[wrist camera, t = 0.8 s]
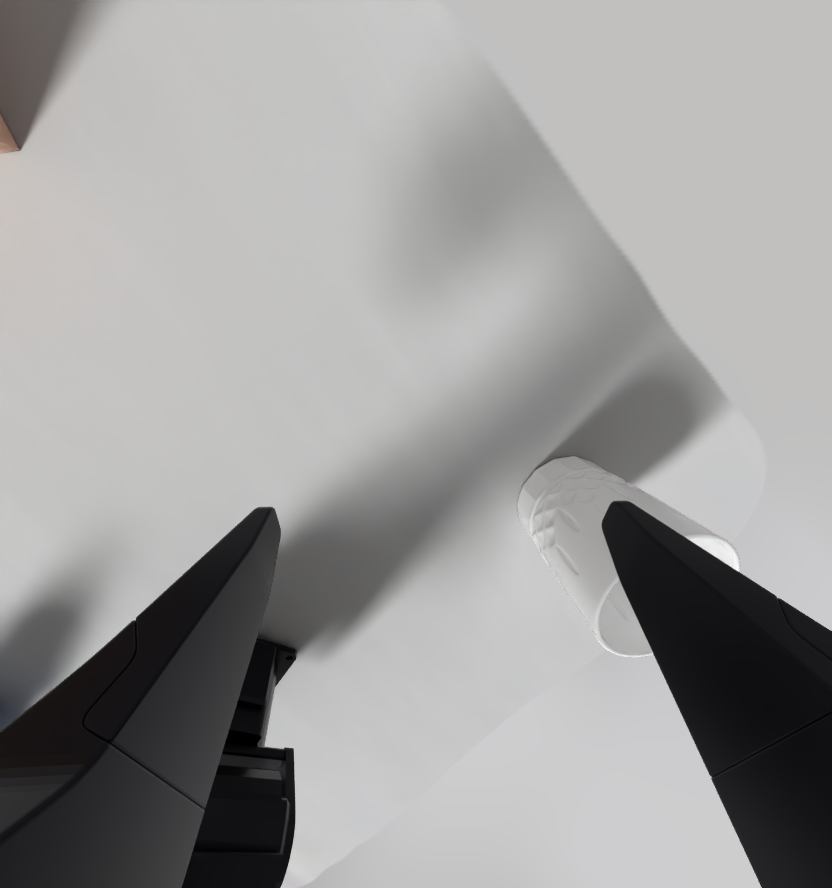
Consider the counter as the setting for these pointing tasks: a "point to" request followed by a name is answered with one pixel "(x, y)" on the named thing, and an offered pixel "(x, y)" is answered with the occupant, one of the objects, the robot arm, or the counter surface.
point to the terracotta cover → (6, 138)
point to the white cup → (598, 543)
